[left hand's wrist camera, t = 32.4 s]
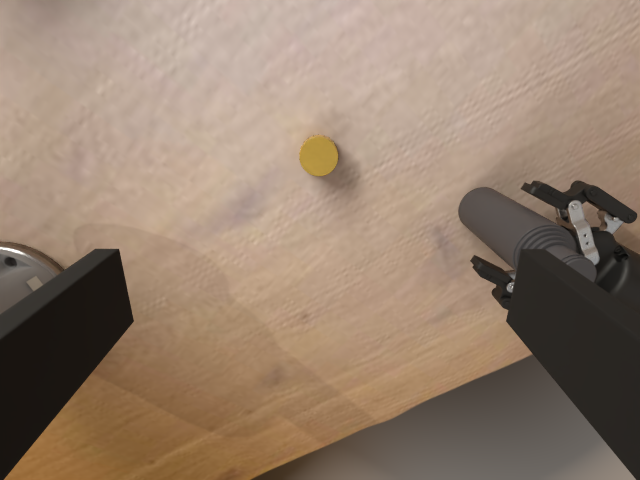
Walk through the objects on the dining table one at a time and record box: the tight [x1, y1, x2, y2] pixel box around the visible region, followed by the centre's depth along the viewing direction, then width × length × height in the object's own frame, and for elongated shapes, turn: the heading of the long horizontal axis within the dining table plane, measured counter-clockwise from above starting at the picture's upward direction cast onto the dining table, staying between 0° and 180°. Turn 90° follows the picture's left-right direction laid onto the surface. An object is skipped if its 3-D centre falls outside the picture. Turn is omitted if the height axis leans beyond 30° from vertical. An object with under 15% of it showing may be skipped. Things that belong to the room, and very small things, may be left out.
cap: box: [299, 135, 338, 176], centre depth 40 cm, size 4×4×2 cm
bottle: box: [459, 187, 597, 282], centre depth 35 cm, size 5×5×17 cm
